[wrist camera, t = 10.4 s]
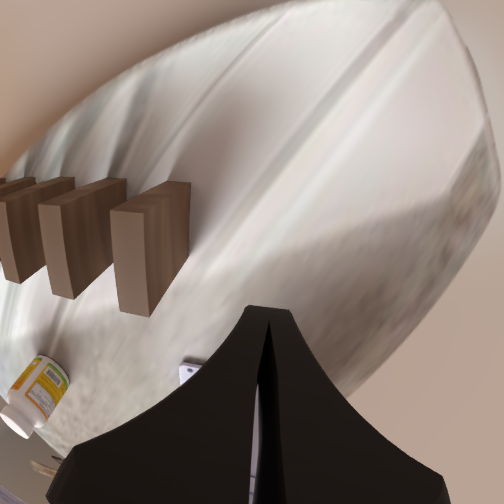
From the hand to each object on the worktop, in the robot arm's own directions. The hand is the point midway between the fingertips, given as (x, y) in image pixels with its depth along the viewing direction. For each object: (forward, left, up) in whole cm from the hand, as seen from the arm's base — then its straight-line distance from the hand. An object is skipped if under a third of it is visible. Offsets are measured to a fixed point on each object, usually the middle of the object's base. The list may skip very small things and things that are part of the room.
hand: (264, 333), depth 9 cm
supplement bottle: (+23, +20, -10) cm, 32 cm away
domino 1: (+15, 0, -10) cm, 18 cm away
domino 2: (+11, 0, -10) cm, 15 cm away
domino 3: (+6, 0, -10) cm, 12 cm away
